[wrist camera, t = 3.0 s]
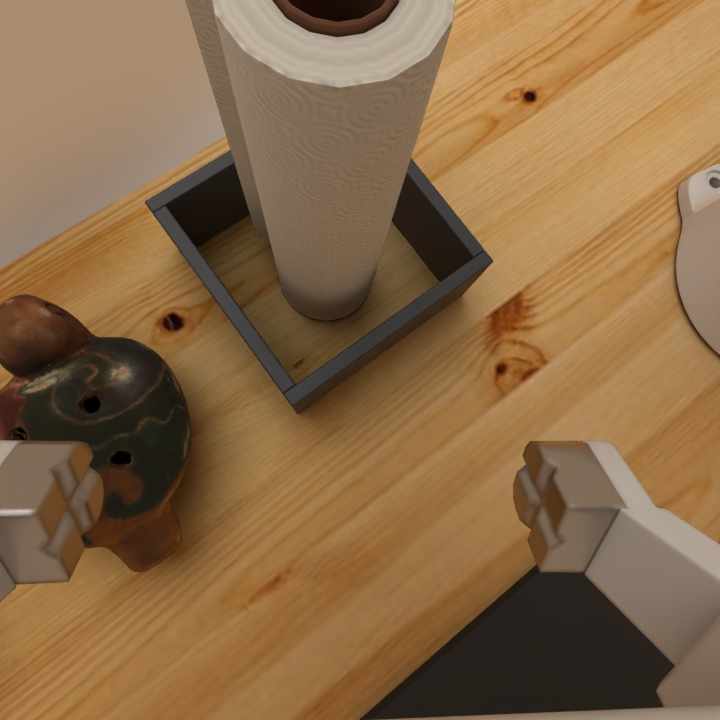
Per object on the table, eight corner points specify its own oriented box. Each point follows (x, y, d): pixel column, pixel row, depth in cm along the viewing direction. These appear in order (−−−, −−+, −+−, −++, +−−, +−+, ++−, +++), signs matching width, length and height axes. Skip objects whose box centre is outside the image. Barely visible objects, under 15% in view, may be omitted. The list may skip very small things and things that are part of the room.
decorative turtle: (132, 290, 31) (83, 242, 23) (256, 493, 31) (247, 515, 23) (-19, 368, 29) (-129, 344, 21) (110, 588, 29) (45, 646, 21)
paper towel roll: (386, 300, 32) (506, 31, 11) (302, 337, 32) (266, 117, 11) (340, 207, 33) (374, -201, 12) (257, 240, 32) (143, -138, 11)
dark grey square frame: (343, 142, 34) (348, 78, 28) (463, 294, 33) (494, 260, 27) (176, 246, 32) (144, 201, 26) (297, 414, 31) (292, 406, 25)
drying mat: (604, 504, 31) (613, 506, 30) (751, 694, 30) (766, 702, 29) (352, 724, 28) (353, 735, 27) (506, 949, 26) (513, 968, 25)
